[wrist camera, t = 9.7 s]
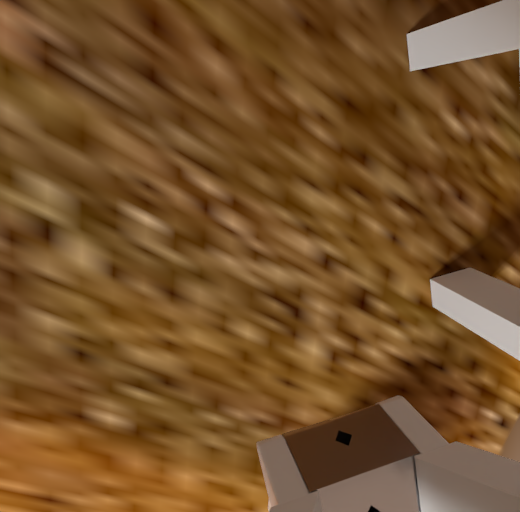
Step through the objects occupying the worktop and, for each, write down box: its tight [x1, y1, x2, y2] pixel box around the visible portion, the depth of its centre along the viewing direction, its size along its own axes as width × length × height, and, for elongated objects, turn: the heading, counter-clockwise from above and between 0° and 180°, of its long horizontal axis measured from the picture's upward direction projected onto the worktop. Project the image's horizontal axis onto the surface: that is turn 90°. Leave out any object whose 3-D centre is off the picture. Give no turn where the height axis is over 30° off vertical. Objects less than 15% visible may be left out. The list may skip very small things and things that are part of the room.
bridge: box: [407, 0, 520, 361], centre depth 25 cm, size 3×17×10 cm, turn 11°
